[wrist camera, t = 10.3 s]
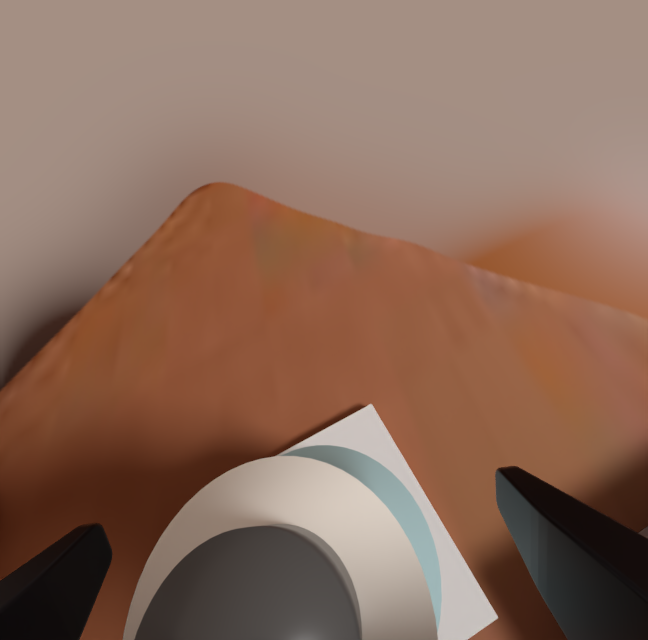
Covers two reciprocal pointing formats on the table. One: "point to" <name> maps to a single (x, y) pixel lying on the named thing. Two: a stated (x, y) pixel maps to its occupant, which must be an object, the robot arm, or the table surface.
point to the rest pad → (456, 578)
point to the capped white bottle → (293, 557)
